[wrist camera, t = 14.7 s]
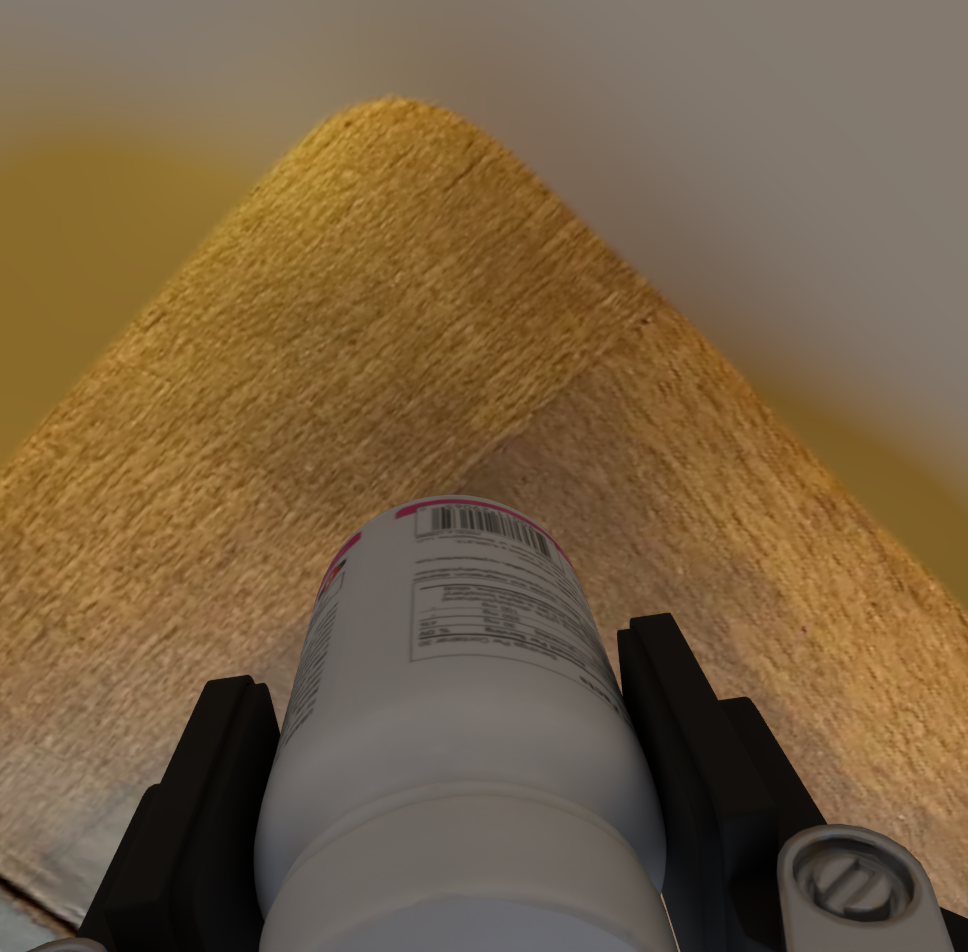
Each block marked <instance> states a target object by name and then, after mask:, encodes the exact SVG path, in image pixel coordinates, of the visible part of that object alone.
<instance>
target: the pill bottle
mask: <svg viewBox="0 0 968 952" xmlns="http://www.w3.org/2000/svg"><path fill="white" fill-rule="evenodd" d="M666 854H667V844H666V831H665V824H664V819H663V814H662V809H661V805H660V800H659V797H658V793H657V790H656V786H655V783H654V780H653V776H652V773H651V770H650V768H649V765H648V762H647V760H646V757H645V754H644V752H643V749H642V747H641V745H640V742H639V739H638V736H637V733H636V731H635V728H634V726H633V723H632V721H631V718H630V716H629V713H628V711H627V708H626V706H625V702H624V699H623V697H622V694H621V691H620V689H619V686H618V683H617V681H616V678H615V675H614V672H613V670H612V667H611V665H610V662H609V659H608V656H607V653H606V651H605V648H604V646H603V643H602V641H601V638H600V635H599V632H598V630H597V627H596V624H595V622H594V619H593V616H592V614H591V611H590V608H589V605H588V603H587V600H586V597H585V595H584V592H583V590H582V587H581V584H580V582H579V579H578V577H577V575H576V573H575V570H574V568H573V566H572V564H571V563H570V561H569V559H568V557H567V556H566V554H565V553H564V551H563V550H562V548H561V547H560V545H559V544H558V543H557V542H556V541H555V540H554V538H553V537H552V536H551V535H550V534H549V533H548V532H547V531H546V530H545V529H544V528H542V527H541V526H540V525H539V524H538V523H536V522H535V521H534V520H532V519H531V518H529V517H528V516H526V515H525V514H523V513H521V512H519V511H517V510H515V509H513V508H511V507H509V506H507V505H504V504H502V503H499V502H496V501H493V500H489V499H485V498H481V497H476V496H469V495H438V496H430V497H425V498H421V499H417V500H413V501H410V502H407V503H404V504H401V505H398V506H396V507H393V508H391V509H389V510H386V511H385V512H383V513H381V514H379V515H378V516H376V517H374V518H373V519H371V520H370V521H368V522H367V523H366V524H364V525H363V526H362V527H361V528H359V529H358V530H357V531H356V532H355V533H354V534H353V535H352V536H351V537H350V538H349V539H348V540H347V541H346V542H345V544H344V545H343V546H342V547H341V549H340V550H339V551H338V553H337V554H336V556H335V557H334V559H333V560H332V562H331V564H330V566H329V568H328V570H327V572H326V574H325V576H324V578H323V581H322V583H321V586H320V589H319V591H318V594H317V597H316V601H315V605H314V609H313V613H312V616H311V620H310V624H309V628H308V631H307V635H306V638H305V642H304V646H303V650H302V654H301V657H300V662H299V666H298V670H297V673H296V677H295V680H294V684H293V688H292V693H291V697H290V700H289V704H288V708H287V711H286V715H285V719H284V722H283V727H282V731H281V735H280V739H279V743H278V747H277V751H276V755H275V758H274V761H273V766H272V769H271V772H270V776H269V779H268V783H267V786H266V790H265V794H264V797H263V801H262V805H261V810H260V814H259V819H258V824H257V829H256V836H255V842H254V859H253V866H254V882H255V888H256V894H257V900H258V904H259V907H260V910H261V913H262V917H263V919H264V921H265V924H264V926H263V930H262V934H261V939H260V945H259V952H678V950H677V946H676V943H675V939H674V936H673V933H672V930H671V926H670V923H669V920H668V916H667V913H666V910H665V907H664V905H663V902H662V900H661V897H660V895H661V891H662V887H663V881H664V875H665V866H666Z"/></svg>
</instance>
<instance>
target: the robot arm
mask: <svg viewBox="0 0 968 952" xmlns="http://www.w3.org/2000/svg"><path fill="white" fill-rule="evenodd" d="M617 641H618V652H619V663H620V673H621V683H622V694H623V699H624V702H625V706H626V708H627V711H628V713H629V716H630V718H631V721H632V723H633V726H634V728H635V731H636V733H637V736H638V739H639V742H640V745H641V747H642V749H643V752H644V754H645V757H646V760H647V762H648V765H649V768H650V770H651V773H652V776H653V780H654V783H655V786H656V790H657V793H658V797H659V800H660V805H661V809H662V814H663V819H664V824H665V831H666V844H667V854H666V866H665V875H664V881H663V887H662V891H661V892H662V895H663V898H664V901H665V904H666V907H667V911H668V914H669V917H670V920H671V923H672V926H673V929H674V933H675V936H676V939H677V942H678V945H679V948H680V952H968V919H967V918H965V917H963V916H960V915H958V914H956V913H953V912H951V911H948V910H946V909H944V908H941V907H939V905H938V902H937V899H936V896H935V893H934V890H933V887H932V884H931V882H930V879H929V877H928V876H927V874H926V872H925V870H924V868H923V867H922V865H921V863H920V862H919V861H918V860H917V859H916V858H915V857H914V856H913V855H912V854H911V853H910V852H909V851H908V850H907V849H906V848H905V847H903V846H902V845H900V844H898V843H897V842H895V841H893V840H892V839H890V838H888V837H887V836H885V835H883V834H880V833H877V832H874V831H872V830H869V829H866V828H863V827H858V826H851V825H844V824H830V825H828V824H827V822H826V821H825V819H824V818H823V816H822V814H821V813H820V811H819V809H818V808H817V806H816V804H815V803H814V801H813V799H812V798H811V796H810V795H809V793H808V791H807V790H806V788H805V786H804V785H803V783H802V781H801V780H800V778H799V777H798V775H797V773H796V772H795V770H794V768H793V767H792V765H791V763H790V762H789V760H788V759H787V757H786V755H785V754H784V752H783V750H782V749H781V747H780V745H779V744H778V742H777V741H776V739H775V737H774V736H773V734H772V732H771V731H770V729H769V727H768V726H767V724H766V723H765V721H764V719H763V718H762V716H761V714H760V713H759V711H758V709H757V708H756V706H755V705H754V703H753V702H752V701H751V700H750V698H747V697H739V698H732V699H725V700H719V701H718V699H717V697H716V695H715V693H714V691H713V690H712V688H711V686H710V684H709V682H708V680H707V679H706V677H705V675H704V673H703V671H702V669H701V668H700V666H699V664H698V662H697V660H696V658H695V657H694V655H693V653H692V651H691V649H690V647H689V646H688V644H687V642H686V640H685V638H684V636H683V635H682V633H681V631H680V629H679V627H678V625H677V624H676V622H675V620H674V618H673V616H672V615H671V613H662V614H656V615H649V616H642V617H635V618H631V619H630V629H624V630H618V632H617ZM279 739H280V731H279V727H278V723H277V719H276V715H275V712H274V708H273V704H272V700H271V696H270V692H269V689H268V687H267V685H266V684H265V683H259V684H255V683H254V680H253V679H252V677H251V676H250V675H243V676H236V677H229V678H223V679H216V680H210V681H208V682H207V683H206V685H205V686H204V689H203V691H202V693H201V695H200V697H199V700H198V702H197V704H196V706H195V708H194V710H193V713H192V715H191V717H190V719H189V721H188V724H187V726H186V728H185V730H184V732H183V734H182V737H181V739H180V741H179V743H178V745H177V748H176V750H175V752H174V754H173V756H172V758H171V761H170V763H169V765H168V767H167V769H166V772H165V774H164V776H163V778H162V780H161V783H160V784H154V785H152V786H150V787H149V788H148V789H147V790H146V792H145V793H144V795H143V796H142V799H141V801H140V803H139V805H138V807H137V809H136V811H135V813H134V815H133V817H132V820H131V822H130V824H129V826H128V828H127V830H126V832H125V834H124V836H123V838H122V841H121V843H120V845H119V847H118V849H117V851H116V853H115V855H114V857H113V859H112V862H111V864H110V866H109V868H108V870H107V872H106V874H105V876H104V878H103V880H102V883H101V885H100V887H99V889H98V891H97V893H96V895H95V897H94V899H93V901H92V903H91V906H90V908H89V910H88V912H87V914H86V916H85V918H84V920H83V922H82V924H81V927H80V929H79V931H78V933H77V935H76V937H75V938H72V937H69V938H65V939H60V940H56V941H52V942H47V943H45V944H43V945H41V946H38V947H36V948H34V949H32V950H29V951H27V952H259V945H260V939H261V934H262V930H263V926H264V924H265V921H264V919H263V917H262V913H261V910H260V907H259V904H258V900H257V894H256V888H255V882H254V866H253V859H254V842H255V836H256V829H257V824H258V819H259V814H260V810H261V805H262V801H263V797H264V794H265V790H266V786H267V783H268V779H269V776H270V772H271V769H272V766H273V761H274V758H275V755H276V751H277V747H278V743H279Z"/></svg>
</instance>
